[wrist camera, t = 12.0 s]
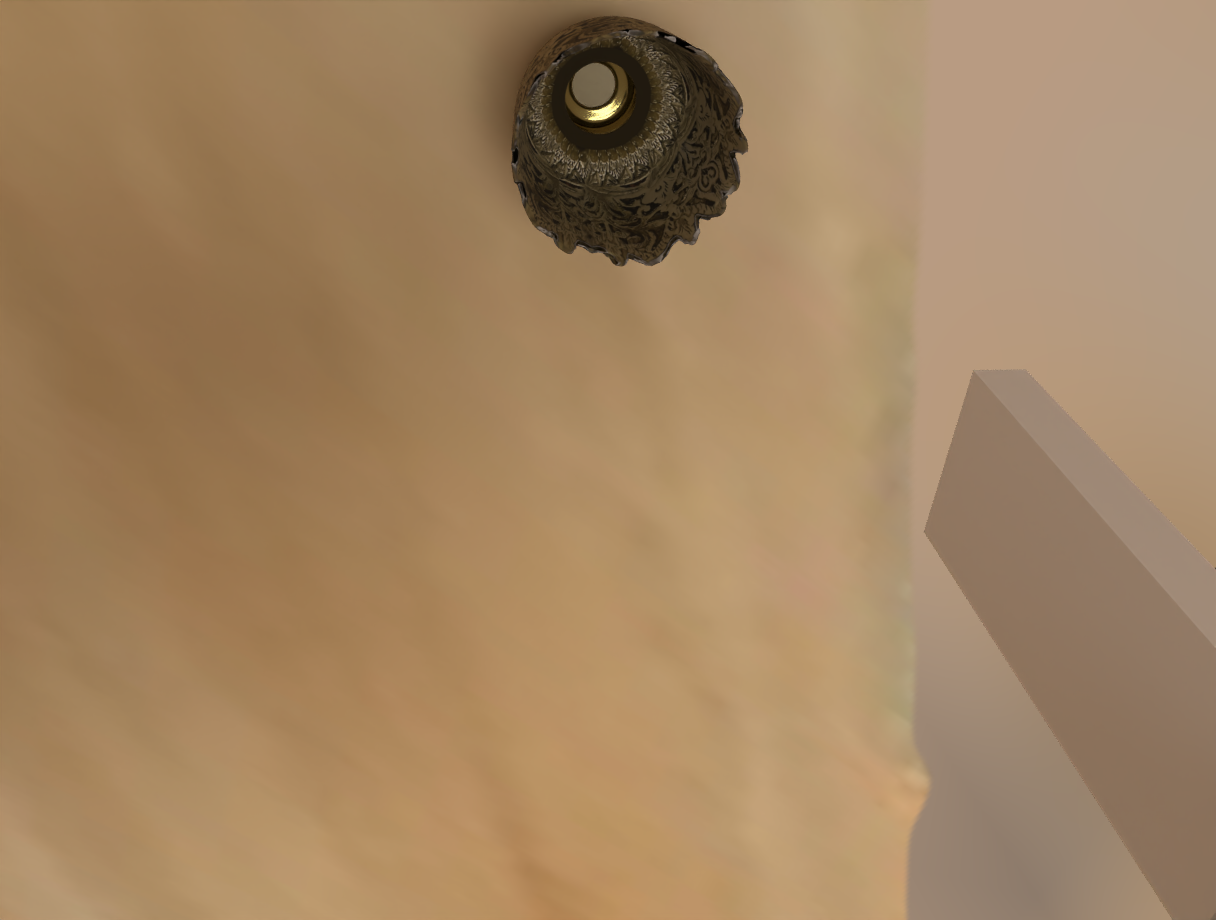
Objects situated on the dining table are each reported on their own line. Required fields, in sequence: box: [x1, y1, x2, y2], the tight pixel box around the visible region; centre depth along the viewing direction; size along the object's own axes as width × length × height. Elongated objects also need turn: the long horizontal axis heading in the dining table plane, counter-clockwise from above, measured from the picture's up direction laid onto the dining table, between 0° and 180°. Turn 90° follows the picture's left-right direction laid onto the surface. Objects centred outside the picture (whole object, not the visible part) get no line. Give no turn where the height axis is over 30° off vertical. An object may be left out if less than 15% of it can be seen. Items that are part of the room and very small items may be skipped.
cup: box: [511, 16, 748, 266], centre depth 37 cm, size 8×7×8 cm
